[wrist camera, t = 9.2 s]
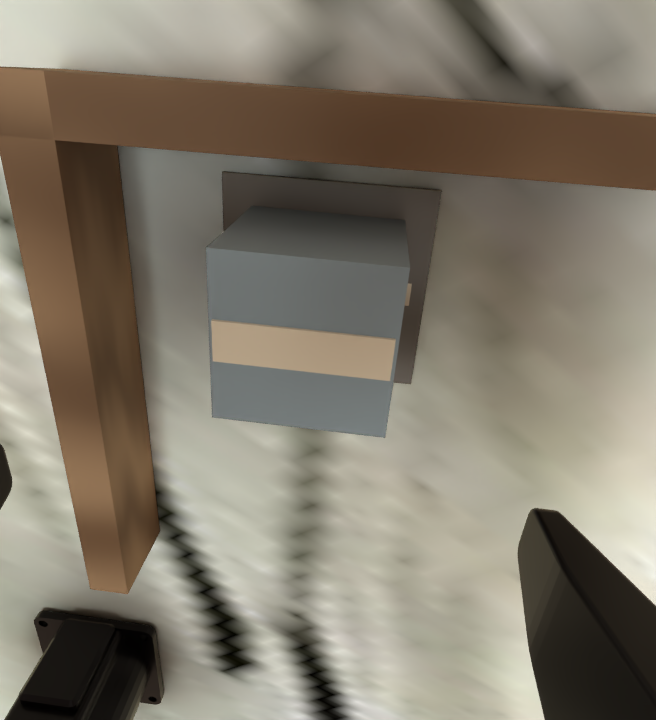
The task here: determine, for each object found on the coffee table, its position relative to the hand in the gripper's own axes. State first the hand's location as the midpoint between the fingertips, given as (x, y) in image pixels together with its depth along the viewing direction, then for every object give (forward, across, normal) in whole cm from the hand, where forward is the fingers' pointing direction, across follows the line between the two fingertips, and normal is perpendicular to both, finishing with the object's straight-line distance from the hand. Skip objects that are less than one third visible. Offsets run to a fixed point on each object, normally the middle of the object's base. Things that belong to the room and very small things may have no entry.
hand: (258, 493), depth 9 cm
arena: (+11, -1, +4) cm, 11 cm away
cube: (+11, 0, 0) cm, 11 cm away
